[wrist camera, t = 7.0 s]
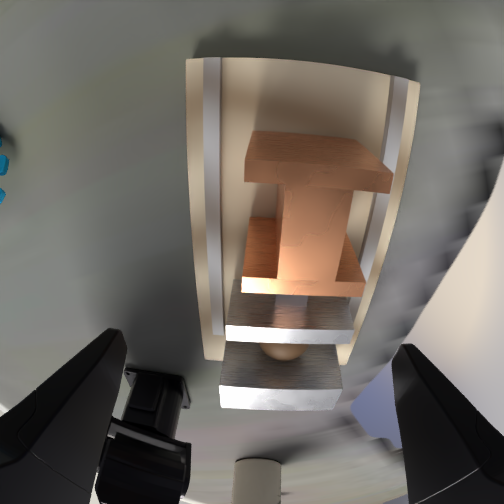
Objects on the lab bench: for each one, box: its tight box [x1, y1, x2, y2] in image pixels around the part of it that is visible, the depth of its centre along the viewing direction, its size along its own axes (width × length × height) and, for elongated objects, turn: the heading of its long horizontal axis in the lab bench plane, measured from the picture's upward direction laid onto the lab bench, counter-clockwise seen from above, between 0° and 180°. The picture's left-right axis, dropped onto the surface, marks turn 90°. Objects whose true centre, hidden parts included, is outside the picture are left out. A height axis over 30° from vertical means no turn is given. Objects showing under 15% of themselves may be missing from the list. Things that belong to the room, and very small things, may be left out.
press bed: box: [186, 57, 420, 365], centre depth 19 cm, size 22×12×2 cm, turn 178°
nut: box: [259, 342, 310, 361], centre depth 20 cm, size 4×4×4 cm
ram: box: [226, 130, 394, 344], centre depth 15 cm, size 10×7×5 cm
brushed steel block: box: [219, 337, 343, 411], centre depth 21 cm, size 3×8×5 cm, turn 88°
